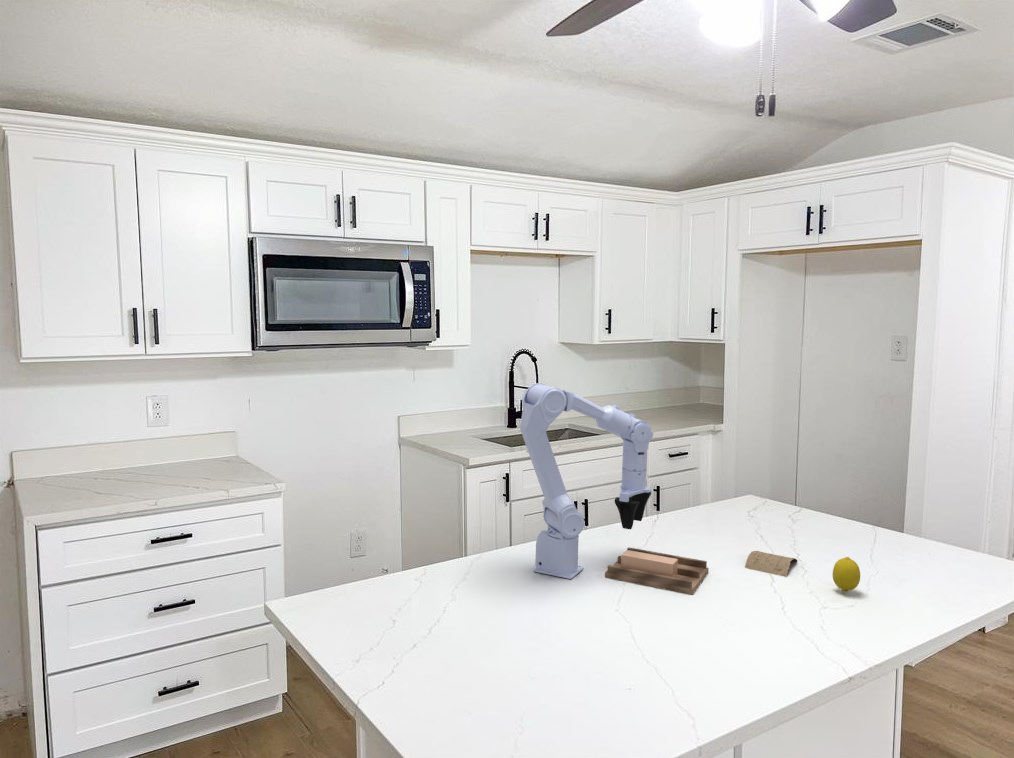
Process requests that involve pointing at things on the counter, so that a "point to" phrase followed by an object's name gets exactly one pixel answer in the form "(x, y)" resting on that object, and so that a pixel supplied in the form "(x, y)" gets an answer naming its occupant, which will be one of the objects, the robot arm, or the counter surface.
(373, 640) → the counter surface
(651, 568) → the peach rectangular block
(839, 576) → the lemon
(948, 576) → the counter surface
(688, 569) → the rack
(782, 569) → the clay tablet
